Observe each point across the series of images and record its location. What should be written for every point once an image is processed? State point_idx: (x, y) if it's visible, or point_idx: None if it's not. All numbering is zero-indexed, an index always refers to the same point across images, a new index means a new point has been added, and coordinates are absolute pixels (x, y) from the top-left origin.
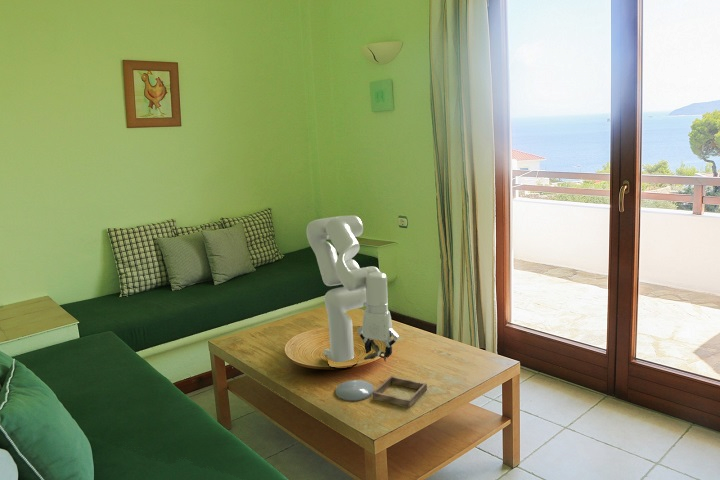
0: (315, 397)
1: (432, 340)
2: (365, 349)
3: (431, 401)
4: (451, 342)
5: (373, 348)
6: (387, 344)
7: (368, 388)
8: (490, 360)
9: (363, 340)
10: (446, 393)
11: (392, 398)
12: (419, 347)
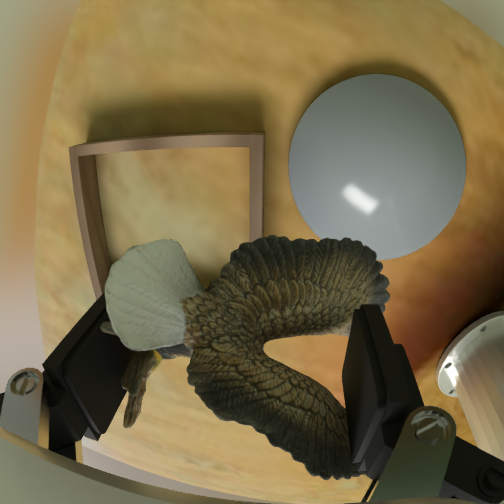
0: (498, 72)
1: (264, 491)
2: (395, 344)
3: (56, 224)
4: (218, 490)
5: (297, 380)
6: (24, 398)
7: (323, 199)
8: (99, 443)
9: (452, 431)
10: (55, 290)
11: (147, 137)
12: (279, 473)
